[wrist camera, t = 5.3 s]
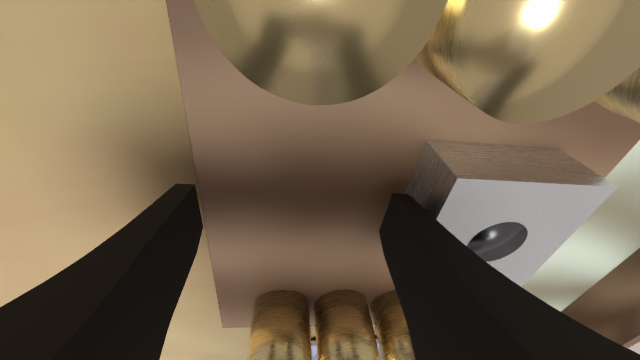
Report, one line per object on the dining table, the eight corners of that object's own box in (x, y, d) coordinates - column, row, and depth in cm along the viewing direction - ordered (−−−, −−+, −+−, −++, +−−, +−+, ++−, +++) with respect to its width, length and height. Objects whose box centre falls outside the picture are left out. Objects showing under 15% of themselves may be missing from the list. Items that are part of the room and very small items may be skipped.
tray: (553, 312, 21) (595, 366, 18) (224, 318, 17) (211, 385, 15) (933, -4, 9) (1234, 7, 6) (146, -172, 6) (-3, -323, 3)
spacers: (412, 316, 18) (441, 401, 14) (253, 319, 17) (243, 414, 13) (644, -51, 7) (1006, -76, 4) (238, -133, 6) (146, -318, 2)
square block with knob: (490, 243, 14) (522, 286, 12) (385, 241, 13) (401, 287, 11) (559, 149, 11) (617, 187, 9) (426, 139, 10) (457, 178, 8)
